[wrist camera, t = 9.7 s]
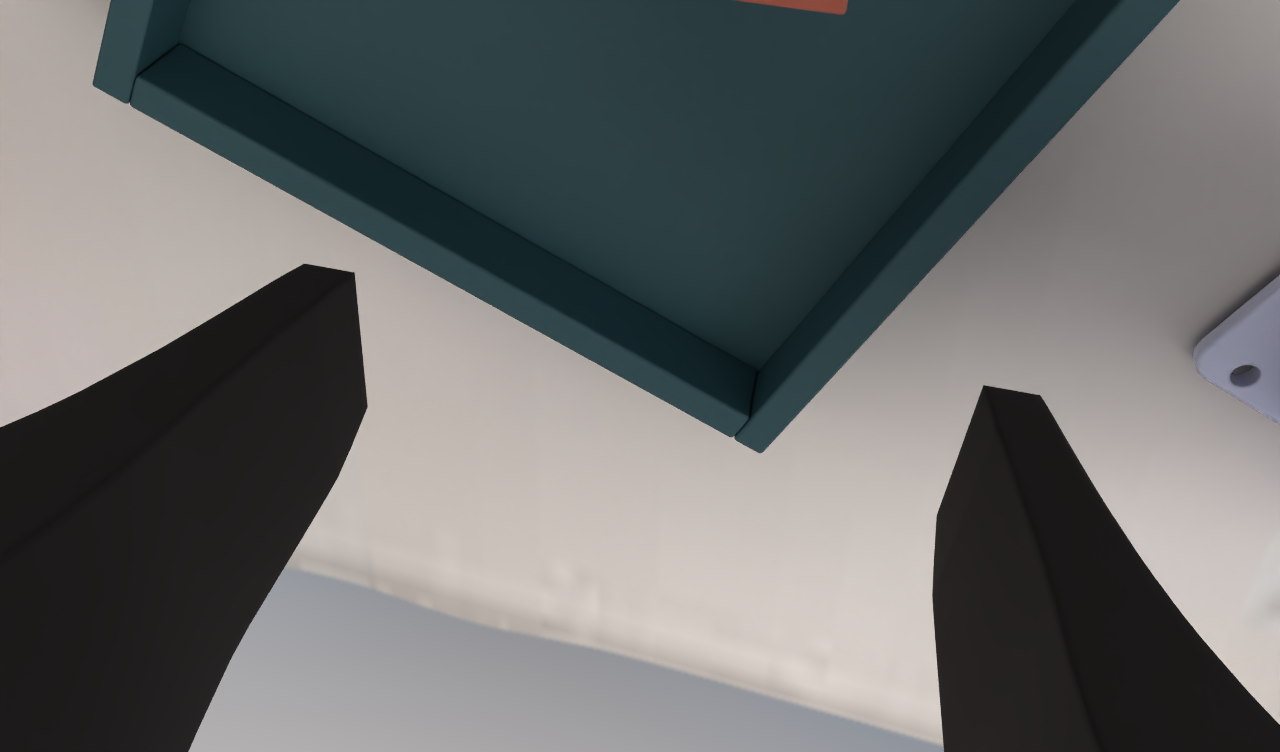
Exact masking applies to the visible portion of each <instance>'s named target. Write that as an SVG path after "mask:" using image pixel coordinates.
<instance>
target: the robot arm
mask: <svg viewBox="0 0 1280 752" xmlns="http://www.w3.org/2000/svg"><path fill="white" fill-rule="evenodd" d="M1193 358H1194V362H1195V365H1196V368H1197V371H1198V373H1199V374H1200V375H1201V376H1202V377H1203V378H1204V379H1206V380H1208V381H1209V382H1211V383H1212V384H1214V385H1216V386H1217V387H1219V388H1221V389H1222V390H1224V391H1225V392H1227V393H1229V394H1230V395H1232V396H1234V397H1235V398H1237V399H1238V400H1240V401H1242V402H1243V403H1245V404H1246V405H1248V406H1250V407H1251V408H1253V409H1255V410H1256V411H1258V412H1259V413H1261V414H1263V415H1264V416H1266V417H1268V418H1269V419H1271V420H1272V421H1274V422H1276V423H1277V424H1279V425H1280V275H1279V276H1277V277H1276V278H1275V279H1274V280H1273V281H1271V282H1270V283H1269V284H1268V285H1267V286H1265V287H1264V288H1263V289H1262V290H1261V291H1259V292H1258V293H1257V294H1256V295H1255V296H1253V297H1252V298H1251V299H1250V300H1249V301H1247V302H1246V303H1245V304H1244V305H1242V306H1241V307H1240V308H1239V309H1238V310H1236V311H1235V312H1234V313H1233V314H1232V315H1230V316H1229V317H1228V318H1227V319H1226V320H1224V321H1223V322H1222V323H1221V324H1220V325H1218V326H1217V327H1216V328H1215V329H1214V330H1212V331H1211V332H1210V333H1209V334H1208V335H1206V336H1205V337H1204V338H1203V339H1201V341H1200V342H1199V343H1198V344H1197V345H1196V346H1195V349H1194V352H1193ZM1242 365H1252V366H1254V367H1253V368H1252V370H1250V371H1248V372H1246V373H1243V374H1234V373H1232V372H1233V370H1234V369H1236V368H1238V367H1240V366H1242ZM366 409H367V397H366V386H365V376H364V366H363V355H362V345H361V335H360V325H359V314H358V304H357V294H356V283H355V273H354V272H348V271H342V270H337V269H331V268H326V267H320V266H315V265H309V264H303V265H301V266H299V267H297V268H296V269H294V270H292V271H290V272H288V273H286V274H285V275H283V276H281V277H279V278H278V279H276V280H274V281H273V282H271V283H269V284H268V285H266V286H264V287H263V288H261V289H259V290H258V291H256V292H254V293H253V294H251V295H249V296H248V297H246V298H245V299H243V300H241V301H240V302H238V303H236V304H235V305H233V306H231V307H230V308H228V309H226V310H225V311H223V312H222V313H220V314H218V315H216V316H215V317H213V318H211V319H210V320H208V321H206V322H205V323H203V324H201V325H200V326H198V327H196V328H194V329H193V330H191V331H189V332H188V333H186V334H184V335H183V336H181V337H179V338H178V339H176V340H174V341H172V342H171V343H169V344H167V345H166V346H164V347H162V348H160V349H159V350H157V351H155V352H153V353H151V354H149V355H147V356H146V357H144V358H142V359H140V360H138V361H136V362H134V363H132V364H131V365H129V366H127V367H125V368H123V369H121V370H119V371H117V372H116V373H114V374H112V375H110V376H108V377H106V378H104V379H103V380H101V381H99V382H97V383H95V384H93V385H91V386H89V387H88V388H86V389H84V390H82V391H80V392H78V393H76V394H74V395H72V396H70V397H67V398H65V399H63V400H61V401H59V402H57V403H55V404H53V405H51V406H48V407H46V408H44V409H42V410H40V411H38V412H35V413H33V414H31V415H28V416H26V417H24V418H21V419H19V420H17V421H14V422H12V423H10V424H7V425H5V426H3V427H0V752H188V751H189V749H190V747H191V744H192V742H193V740H194V737H195V735H196V733H197V731H198V728H199V726H200V724H201V722H202V720H203V718H204V715H205V713H206V711H207V709H208V707H209V705H210V702H211V700H212V698H213V696H214V694H215V692H216V689H217V687H218V685H219V683H220V681H221V679H222V677H223V674H224V672H225V670H226V668H227V666H228V664H229V662H230V660H231V658H232V656H233V654H234V652H235V650H236V648H237V646H238V645H239V643H240V641H241V639H242V637H243V636H244V634H245V632H246V630H247V628H248V627H249V625H250V623H251V622H252V620H253V618H254V617H255V615H256V613H257V612H258V610H259V608H260V607H261V605H262V603H263V602H264V600H265V598H266V597H267V595H268V593H269V592H270V590H271V589H272V587H273V585H274V584H275V582H276V580H277V578H278V577H279V575H280V574H281V572H282V570H283V569H284V567H285V565H286V564H287V562H288V560H289V559H290V557H291V556H292V554H293V552H294V551H295V549H296V547H297V546H298V544H299V542H300V541H301V539H302V537H303V536H304V534H305V532H306V531H307V529H308V527H309V526H310V524H311V522H312V521H313V519H314V517H315V516H316V514H317V512H318V511H319V509H320V507H321V505H322V504H323V502H324V500H325V499H326V497H327V495H328V494H329V492H330V490H331V488H332V487H333V485H334V483H335V481H336V480H337V478H338V476H339V474H340V471H341V469H342V467H343V464H344V462H345V460H346V458H347V455H348V453H349V451H350V449H351V446H352V444H353V441H354V439H355V436H356V434H357V432H358V429H359V427H360V424H361V422H362V419H363V417H364V414H365V412H366ZM932 596H933V612H934V626H935V640H936V654H937V667H938V679H939V692H940V705H941V718H942V730H943V743H944V752H1280V725H1279V724H1278V723H1277V722H1276V721H1275V720H1274V719H1273V718H1272V716H1271V715H1270V714H1269V713H1268V712H1267V711H1266V710H1265V709H1264V708H1263V707H1262V706H1261V705H1260V704H1259V703H1258V702H1257V701H1256V700H1255V698H1254V697H1253V696H1252V695H1251V694H1250V693H1249V692H1248V691H1247V690H1246V689H1245V688H1244V686H1243V685H1242V684H1241V683H1240V682H1239V681H1238V680H1237V678H1236V677H1235V676H1234V675H1233V674H1232V673H1231V672H1230V670H1229V669H1228V668H1227V667H1226V666H1225V665H1224V664H1223V662H1222V661H1221V660H1220V659H1219V658H1218V657H1217V655H1216V654H1215V653H1214V652H1213V651H1212V650H1211V649H1210V647H1209V646H1208V645H1207V644H1206V643H1205V642H1204V641H1203V639H1202V638H1201V637H1200V636H1199V634H1198V633H1197V632H1196V631H1195V630H1194V628H1193V627H1192V626H1191V625H1190V623H1189V622H1188V621H1187V620H1186V618H1185V617H1184V616H1183V615H1182V613H1181V612H1180V611H1179V609H1178V608H1177V607H1176V605H1175V604H1174V603H1173V601H1172V600H1171V599H1170V597H1169V596H1168V595H1167V593H1166V592H1165V591H1164V589H1163V588H1162V587H1161V585H1160V584H1159V583H1158V581H1157V580H1156V579H1155V577H1154V576H1153V575H1152V573H1151V572H1150V570H1149V569H1148V567H1147V566H1146V565H1145V563H1144V562H1143V560H1142V559H1141V557H1140V556H1139V554H1138V553H1137V552H1136V550H1135V549H1134V547H1133V546H1132V544H1131V542H1130V541H1129V539H1128V538H1127V536H1126V535H1125V533H1124V532H1123V530H1122V529H1121V527H1120V526H1119V524H1118V523H1117V521H1116V520H1115V518H1114V517H1113V515H1112V514H1111V512H1110V510H1109V509H1108V507H1107V506H1106V504H1105V503H1104V501H1103V499H1102V498H1101V496H1100V495H1099V493H1098V491H1097V490H1096V488H1095V487H1094V485H1093V483H1092V482H1091V480H1090V478H1089V477H1088V475H1087V473H1086V472H1085V470H1084V468H1083V467H1082V465H1081V463H1080V462H1079V460H1078V458H1077V456H1076V455H1075V453H1074V451H1073V450H1072V448H1071V446H1070V444H1069V443H1068V441H1067V439H1066V438H1065V436H1064V434H1063V432H1062V431H1061V429H1060V427H1059V425H1058V424H1057V422H1056V420H1055V419H1054V417H1053V415H1052V413H1051V412H1050V410H1049V408H1048V407H1047V405H1046V404H1045V402H1044V400H1043V399H1042V397H1041V396H1040V395H1035V394H1029V393H1024V392H1018V391H1013V390H1007V389H1002V388H996V387H990V386H985V385H984V386H983V388H982V391H981V394H980V397H979V400H978V402H977V405H976V408H975V411H974V413H973V416H972V419H971V422H970V425H969V427H968V430H967V433H966V436H965V439H964V441H963V444H962V447H961V450H960V452H959V455H958V458H957V461H956V464H955V466H954V469H953V472H952V475H951V477H950V480H949V483H948V486H947V489H946V491H945V494H944V497H943V500H942V502H941V505H940V508H939V511H938V514H937V521H936V537H935V553H934V572H933V594H932Z"/></svg>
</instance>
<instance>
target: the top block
mask: <svg viewBox="0 0 1280 752" xmlns="http://www.w3.org/2000/svg"><path fill="white" fill-rule="evenodd" d="M736 1H743V2H750V3H758V4H765V5H773V6H780V7H788V8H795V9H802V10H810V11H817V12H825V13H832V14H840V15H842V14H845V12H846V9H847V4H848V0H736Z"/></svg>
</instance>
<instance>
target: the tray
mask: <svg viewBox="0 0 1280 752" xmlns="http://www.w3.org/2000/svg"><path fill="white" fill-rule="evenodd" d="M1179 1H1180V0H848V4H847V9H846V12H845V14H842V15H840V14H832V13H825V12H817V11H810V10H802V9H795V8H788V7H780V6H773V5H765V4H758V3H750V2H743V1H736V0H111V2H110V7H109V11H108V16H107V21H106V25H105V30H104V34H103V39H102V43H101V48H100V52H99V57H98V61H97V66H96V71H95V75H94V80H93V86H94V87H96V88H98V89H100V90H102V91H103V92H105V93H107V94H109V95H111V96H112V97H114V98H116V99H118V100H120V101H122V102H123V103H126V104H127V103H129V102H130V105H131V106H132V107H133V108H135V109H137V110H139V111H141V112H142V113H144V114H146V115H148V116H150V117H151V118H153V119H155V120H157V121H159V122H160V123H162V124H164V125H166V126H168V127H170V128H171V129H173V130H175V131H177V132H179V133H180V134H182V135H184V136H186V137H188V138H189V139H191V140H193V141H195V142H197V143H199V144H200V145H202V146H204V147H206V148H208V149H209V150H211V151H213V152H215V153H217V154H218V155H220V156H222V157H224V158H226V159H227V160H229V161H231V162H233V163H235V164H237V165H238V166H240V167H242V168H244V169H246V170H247V171H249V172H251V173H253V174H255V175H256V176H258V177H260V178H262V179H264V180H265V181H267V182H269V183H271V184H273V185H275V186H276V187H278V188H280V189H282V190H284V191H285V192H287V193H289V194H291V195H293V196H294V197H296V198H298V199H300V200H302V201H303V202H305V203H307V204H309V205H311V206H313V207H314V208H316V209H318V210H320V211H322V212H323V213H325V214H327V215H329V216H331V217H332V218H334V219H336V220H338V221H340V222H341V223H343V224H345V225H347V226H349V227H351V228H352V229H354V230H356V231H358V232H360V233H361V234H363V235H365V236H367V237H369V238H370V239H372V240H374V241H376V242H378V243H379V244H381V245H383V246H385V247H387V248H389V249H390V250H392V251H394V252H396V253H398V254H399V255H401V256H403V257H405V258H407V259H408V260H410V261H412V262H414V263H416V264H417V265H419V266H421V267H423V268H425V269H427V270H428V271H430V272H432V273H434V274H436V275H437V276H439V277H441V278H443V279H445V280H446V281H448V282H450V283H452V284H454V285H455V286H457V287H459V288H461V289H463V290H465V291H466V292H468V293H470V294H472V295H474V296H475V297H477V298H479V299H481V300H483V301H484V302H486V303H488V304H490V305H492V306H494V307H495V308H497V309H499V310H501V311H503V312H504V313H506V314H508V315H510V316H512V317H513V318H515V319H517V320H519V321H521V322H522V323H524V324H526V325H528V326H530V327H532V328H533V329H535V330H537V331H539V332H541V333H542V334H544V335H546V336H548V337H550V338H551V339H553V340H555V341H557V342H559V343H560V344H562V345H564V346H566V347H568V348H570V349H571V350H573V351H575V352H577V353H579V354H580V355H582V356H584V357H586V358H588V359H589V360H591V361H593V362H595V363H597V364H598V365H600V366H602V367H604V368H606V369H608V370H609V371H611V372H613V373H615V374H617V375H618V376H620V377H622V378H624V379H626V380H627V381H629V382H631V383H633V384H635V385H636V386H638V387H640V388H642V389H644V390H646V391H647V392H649V393H651V394H653V395H655V396H656V397H658V398H660V399H662V400H664V401H665V402H667V403H669V404H671V405H673V406H674V407H676V408H678V409H680V410H682V411H684V412H685V413H687V414H689V415H691V416H693V417H694V418H696V419H698V420H700V421H702V422H703V423H705V424H707V425H709V426H711V427H712V428H714V429H716V430H718V431H720V432H722V433H723V434H725V435H727V436H729V437H733V436H734V435H735V437H734V438H735V440H736V441H738V442H740V443H742V444H743V445H745V446H747V447H749V448H751V449H752V450H754V451H756V452H758V453H762V452H764V450H765V449H766V448H767V447H768V446H769V445H770V444H771V443H772V442H773V441H774V440H775V439H776V437H777V436H778V435H779V434H780V433H781V432H782V431H783V430H784V429H785V428H786V427H787V426H788V424H789V423H790V422H791V421H792V420H793V419H794V418H795V417H796V416H797V415H798V414H799V413H800V411H801V410H802V409H803V408H804V407H805V406H806V405H807V404H808V403H809V402H810V401H811V400H812V398H813V397H814V396H815V395H816V394H817V393H818V392H819V391H820V390H821V389H822V388H823V387H824V385H825V384H826V383H827V382H828V381H829V380H830V379H831V378H832V377H833V376H834V375H835V374H836V372H837V371H838V370H839V369H840V368H841V367H842V366H843V365H844V364H845V363H846V362H847V361H848V359H849V358H850V357H851V356H852V355H853V354H854V353H855V352H856V351H857V350H858V349H859V348H860V346H861V345H862V344H863V343H864V342H865V341H866V340H867V339H868V338H869V337H870V336H871V335H872V333H873V332H874V331H875V330H876V329H877V328H878V327H879V326H880V325H881V324H882V323H883V321H884V320H885V319H886V318H887V317H888V316H889V315H890V314H891V313H892V312H893V311H894V310H895V308H896V307H897V306H898V305H899V304H900V303H901V302H902V301H903V300H904V299H905V298H906V297H907V295H908V294H909V293H910V292H911V291H912V290H913V289H914V288H915V287H916V286H917V285H918V284H919V282H920V281H921V280H922V279H923V278H924V277H925V276H926V275H927V274H928V273H929V272H930V271H931V269H932V268H933V267H934V266H935V265H936V264H937V263H938V262H939V261H940V260H941V259H942V258H943V256H944V255H945V254H946V253H947V252H948V251H949V250H950V249H951V248H952V247H953V246H954V245H955V243H956V242H957V241H958V240H959V239H960V238H961V237H962V236H963V235H964V234H965V233H966V232H967V230H968V229H969V228H970V227H971V226H972V225H973V224H974V223H975V222H976V221H977V220H978V219H979V217H980V216H981V215H982V214H983V213H984V212H985V211H986V210H987V209H988V208H989V207H990V206H991V204H992V203H993V202H994V201H995V200H996V199H997V198H998V197H999V196H1000V195H1001V194H1002V193H1003V191H1004V190H1005V189H1006V188H1007V187H1008V186H1009V185H1010V184H1011V183H1012V182H1013V181H1014V180H1015V178H1016V177H1017V176H1018V175H1019V174H1020V173H1021V172H1022V171H1023V170H1024V169H1025V168H1026V167H1027V165H1028V164H1029V163H1030V162H1031V161H1032V160H1033V159H1034V158H1035V157H1036V156H1037V155H1038V154H1039V152H1040V151H1041V150H1042V149H1043V148H1044V147H1045V146H1046V145H1047V144H1048V143H1049V142H1050V141H1051V139H1052V138H1053V137H1054V136H1055V135H1056V134H1057V133H1058V132H1059V131H1060V130H1061V129H1062V128H1063V126H1064V125H1065V124H1066V123H1067V122H1068V121H1069V120H1070V119H1071V118H1072V117H1073V116H1074V115H1075V113H1076V112H1077V111H1078V110H1079V109H1080V108H1081V107H1082V106H1083V105H1084V104H1085V103H1086V102H1087V100H1088V99H1089V98H1090V97H1091V96H1092V95H1093V94H1094V93H1095V92H1096V91H1097V90H1098V88H1099V87H1100V86H1101V85H1102V84H1103V83H1104V82H1105V81H1106V80H1107V79H1108V78H1109V77H1110V75H1111V74H1112V73H1113V72H1114V71H1115V70H1116V69H1117V68H1118V67H1119V66H1120V65H1121V64H1122V62H1123V61H1124V60H1125V59H1126V58H1127V57H1128V56H1129V55H1130V54H1131V53H1132V52H1133V51H1134V49H1135V48H1136V47H1137V46H1138V45H1139V44H1140V43H1141V42H1142V41H1143V40H1144V39H1145V38H1146V36H1147V35H1148V34H1149V33H1150V32H1151V31H1152V30H1153V29H1154V28H1155V27H1156V26H1157V25H1158V23H1159V22H1160V21H1161V20H1162V19H1163V18H1164V17H1165V16H1166V15H1167V14H1168V13H1169V12H1170V10H1171V9H1172V8H1173V7H1174V6H1175V5H1176V4H1177V3H1178V2H1179Z"/></svg>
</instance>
